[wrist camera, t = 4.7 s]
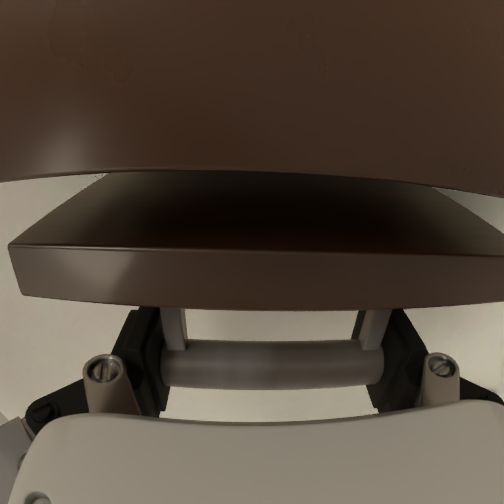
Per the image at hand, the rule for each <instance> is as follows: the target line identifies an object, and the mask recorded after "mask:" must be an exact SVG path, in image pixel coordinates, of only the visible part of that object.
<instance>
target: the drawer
mask: <svg viewBox="0 0 504 504" xmlns="http://www.w3.org/2000/svg"><path fill="white" fill-rule="evenodd" d="M8 251H9V255H10V258H11V262H12V265H13V269H14V272H15V275H16V278H17V282H18V285H19V288H20V291H21V293H22V295H24V296H33V297H41V298H50V299H60V300H70V301H80V302H91V303H103V304H115V305H129V306H144V307H160V313H161V319H162V326H163V332H164V338H165V340H164V341H163V344H162V347H161V353H160V375H161V380H162V383H163V384H164V385H165V386H173V387H186V388H201V389H223V390H298V389H320V388H336V387H349V386H360V385H370V384H376V383H378V382H379V381H380V379H381V377H382V375H383V371H384V352H383V348H382V345H381V342H382V339H383V336H384V333H385V330H386V327H387V324H388V321H389V318H390V315H391V312H392V309H409V308H427V307H443V306H457V305H470V304H482V303H493V302H503V301H504V234H503V233H502V232H501V231H499V230H498V229H496V228H495V227H493V226H492V225H491V224H489V223H488V222H486V221H485V220H483V219H482V218H480V217H479V216H477V215H476V214H474V213H473V212H471V211H469V210H468V209H466V208H465V207H463V206H462V205H460V204H458V203H457V202H455V201H454V200H452V199H450V198H449V197H447V196H445V195H444V194H442V193H440V192H439V191H437V190H435V189H434V188H432V187H430V186H424V185H417V184H409V183H400V182H392V181H383V180H373V179H363V178H352V177H340V176H327V175H313V174H297V173H277V172H250V171H144V172H118V173H109V174H107V175H106V176H104V177H102V178H101V179H99V180H98V181H96V182H94V183H93V184H91V185H90V186H88V187H87V188H85V189H84V190H82V191H81V192H79V193H77V194H76V195H74V196H73V197H72V198H70V199H69V200H67V201H66V202H64V203H63V204H61V205H60V206H58V207H57V208H56V209H54V210H53V211H51V212H50V213H48V214H47V215H46V216H44V217H43V218H42V219H40V220H39V221H38V222H36V223H35V224H33V225H32V226H31V227H29V228H28V229H27V230H26V231H24V232H23V233H22V234H20V235H19V236H18V237H17V238H15V239H14V240H13V241H11V242H10V243H9V244H8ZM185 309H203V310H235V311H355V310H367V311H366V314H365V318H364V321H363V325H362V328H361V332H360V335H359V339H350V340H325V341H225V340H199V339H188V337H187V328H186V319H185Z"/></svg>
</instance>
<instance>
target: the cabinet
mask: <svg viewBox="0 0 504 504" xmlns="http://www.w3.org/2000/svg"><path fill="white" fill-rule="evenodd" d="M144 171H250V172H277V173H297V174H313V175H327V176H340V177H352V178H363V179H373V180H383V181H392V182H400V183H409V184H417V185H424V186H432V187H439V188H445V189H452V190H459V191H465V192H471V193H477V194H482V195H488V196H493V197H499V198H504V0H0V183H2V182H10V181H18V180H27V179H36V178H47V177H58V176H70V175H83V174H99V173H118V172H144Z"/></svg>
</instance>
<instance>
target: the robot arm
mask: <svg viewBox="0 0 504 504" xmlns="http://www.w3.org/2000/svg"><path fill="white" fill-rule="evenodd" d="M366 311H367V310H359V311H358V315H357V319H356V322H355V326H354V330H353V333H352V337H351V339H359V335H360V332H361V328H362V325H363V321H364V318H365V314H366ZM164 340H165V338H164V332H163V326H162V319H161V313H160V307H144V306H140V307H139V309H138V310H131V311H130V312H129V314H128V317H127V319H126V321H125V323H124V325H123V327H122V330H121V332H120V334H119V336H118V339H117V341H116V343H115V345H114V348H113V350H112V352H111V354H102V355H98V356H95V357H93V358H92V359H90V360H89V361H88V362H87V363H86V364H85V366H84V368H83V379H81V380H78V381H76V382H74V383H72V384H70V385H68V386H66V387H64V388H61V389H59V390H57V391H55V392H53V393H51V394H48V395H46V396H44V397H42V398H40V399H37V400H36V401H34V402H33V403H32V404H31V405H30V406H29V407H28V409H27V411H26V415H25V417H24V418H22V419H20V417H19V416H18V417H16V418H14V419H13V420H11V421H9V422H7V423H6V424H3V425H2V426H0V504H504V402H503V400H502V399H501V398H500V397H499V396H498V395H497V394H495V393H493V392H491V391H489V390H487V389H485V388H483V387H480V386H478V385H476V384H474V383H472V382H470V381H468V380H465V379H463V378H461V377H460V375H459V366H458V364H457V363H456V361H455V360H454V359H453V358H451V357H450V356H448V355H446V354H443V353H438V352H436V353H431V354H429V353H428V351H427V349H426V346H425V345H424V343H423V341H422V340H421V338H420V336H419V335H418V333H417V331H416V330H415V328H414V326H413V325H412V323H411V322H410V320H409V318H408V317H407V315H406V314H405V312H404V310H403V309H392V312H391V315H390V318H389V321H388V324H387V327H386V330H385V333H384V336H383V339H382V342H381V345H382V348H383V352H384V371H383V375H382V377H381V379H380V381H379V382H378V383H376V384H370V385H366V387H367V390H368V393H369V396H370V399H371V402H372V405H373V407H374V408H377V409H378V412H379V414H372V415H364V416H356V417H346V418H336V419H324V420H310V421H291V422H216V421H196V420H182V419H169V418H159V415H160V411H165V409H166V405H167V400H168V395H169V391H170V386H165V385H164V384H163V383H162V380H161V375H160V353H161V347H162V344H163V341H164Z"/></svg>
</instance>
